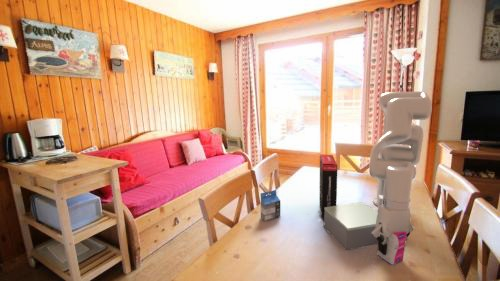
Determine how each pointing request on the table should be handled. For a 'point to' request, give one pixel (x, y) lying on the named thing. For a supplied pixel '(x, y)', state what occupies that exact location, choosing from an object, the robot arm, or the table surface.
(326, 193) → the graphics card box
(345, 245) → the storage box
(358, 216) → the box lid
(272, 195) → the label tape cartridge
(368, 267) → the table surface
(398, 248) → the supplement box
